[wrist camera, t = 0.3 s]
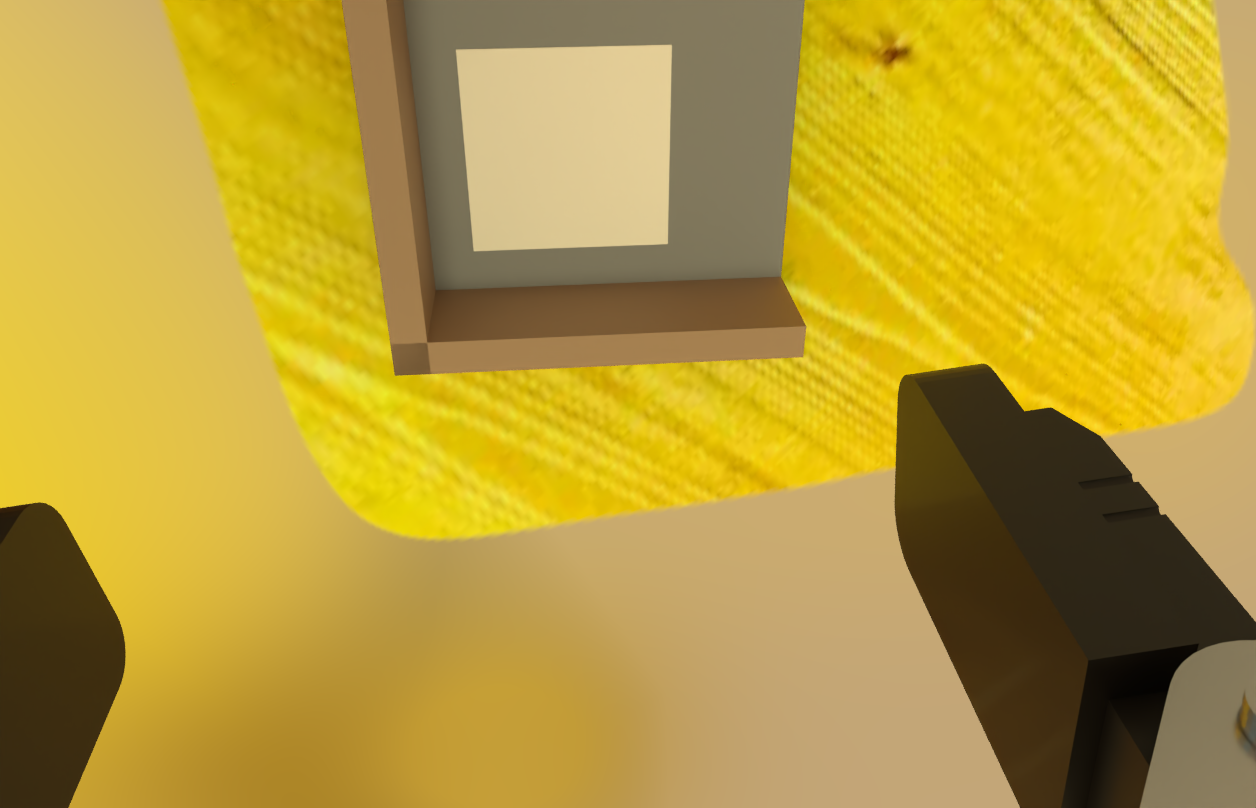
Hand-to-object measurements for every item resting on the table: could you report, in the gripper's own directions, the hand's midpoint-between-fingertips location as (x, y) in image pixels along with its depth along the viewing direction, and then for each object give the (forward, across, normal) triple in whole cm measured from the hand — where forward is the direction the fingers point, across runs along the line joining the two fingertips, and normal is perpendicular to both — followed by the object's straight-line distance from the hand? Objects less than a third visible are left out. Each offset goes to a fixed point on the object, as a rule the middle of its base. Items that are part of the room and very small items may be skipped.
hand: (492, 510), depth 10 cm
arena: (+27, -2, +5) cm, 28 cm away
